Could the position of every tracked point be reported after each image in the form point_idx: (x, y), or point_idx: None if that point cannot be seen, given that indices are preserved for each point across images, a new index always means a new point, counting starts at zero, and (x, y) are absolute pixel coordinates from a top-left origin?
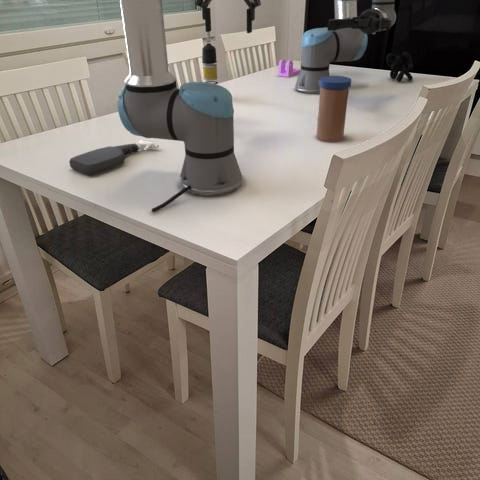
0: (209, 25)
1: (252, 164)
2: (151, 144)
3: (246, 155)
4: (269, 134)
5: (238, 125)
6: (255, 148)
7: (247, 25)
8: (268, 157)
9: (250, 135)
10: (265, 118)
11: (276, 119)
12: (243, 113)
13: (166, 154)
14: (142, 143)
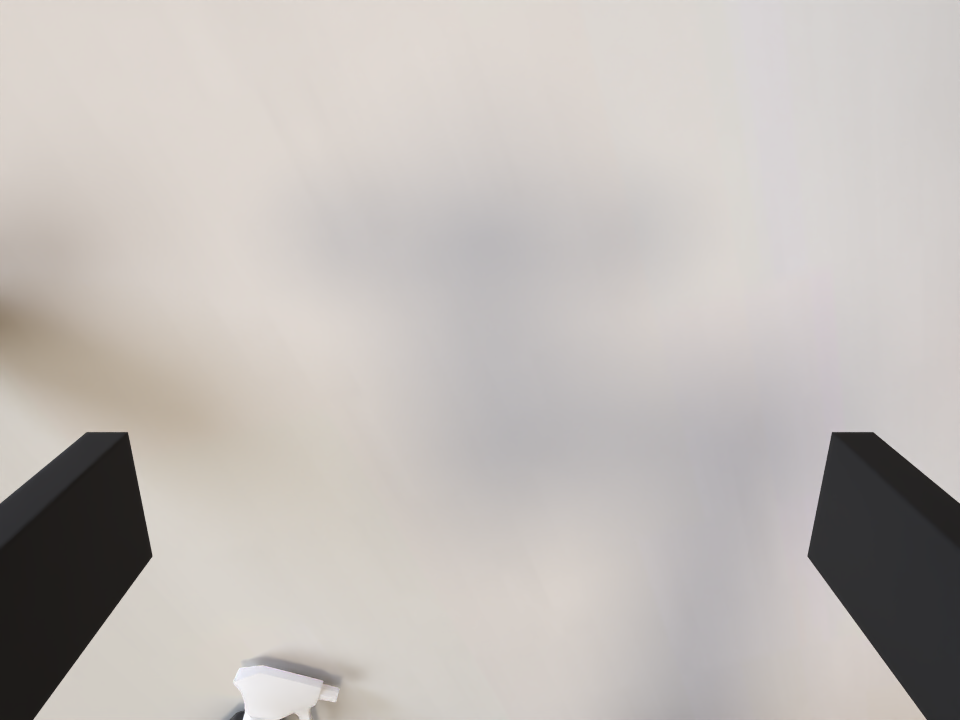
0: (93, 549)
1: (735, 695)
2: (311, 706)
3: (694, 633)
4: (745, 387)
5: (547, 297)
6: (714, 563)
7: (879, 635)
8: (783, 629)
9: (654, 426)
10: (671, 118)
11: (744, 118)
12: (499, 46)
13: (390, 698)
14: (274, 713)
